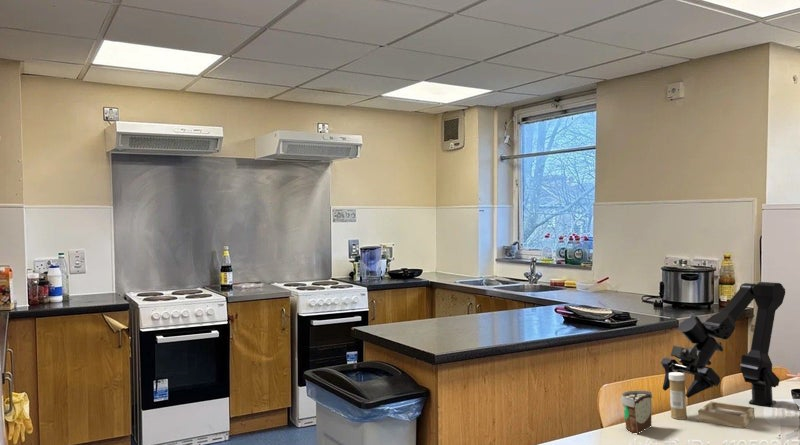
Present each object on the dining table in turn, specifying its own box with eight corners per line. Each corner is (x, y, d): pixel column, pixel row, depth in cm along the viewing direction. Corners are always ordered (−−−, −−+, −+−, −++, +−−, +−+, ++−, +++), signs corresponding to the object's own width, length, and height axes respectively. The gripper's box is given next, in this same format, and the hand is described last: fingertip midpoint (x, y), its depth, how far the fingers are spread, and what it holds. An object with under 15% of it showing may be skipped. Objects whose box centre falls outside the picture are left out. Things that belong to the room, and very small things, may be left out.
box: (711, 411, 190) (710, 401, 190) (754, 417, 182) (754, 407, 182) (698, 420, 181) (698, 410, 181) (743, 428, 173) (742, 417, 173)
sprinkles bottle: (690, 417, 184) (688, 373, 184) (681, 420, 181) (679, 375, 182) (676, 414, 188) (674, 370, 188) (667, 417, 185) (665, 373, 185)
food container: (633, 421, 183) (631, 387, 183) (653, 425, 178) (652, 391, 179) (614, 431, 174) (612, 396, 174) (635, 436, 170) (633, 400, 170)
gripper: (663, 332, 195) (637, 370, 191) (711, 340, 178) (683, 382, 174) (684, 354, 198) (658, 392, 194) (732, 365, 180) (705, 407, 176)
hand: (675, 393), depth 184 cm, fingers open, 9 cm apart
